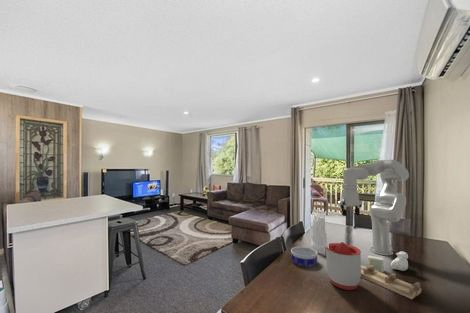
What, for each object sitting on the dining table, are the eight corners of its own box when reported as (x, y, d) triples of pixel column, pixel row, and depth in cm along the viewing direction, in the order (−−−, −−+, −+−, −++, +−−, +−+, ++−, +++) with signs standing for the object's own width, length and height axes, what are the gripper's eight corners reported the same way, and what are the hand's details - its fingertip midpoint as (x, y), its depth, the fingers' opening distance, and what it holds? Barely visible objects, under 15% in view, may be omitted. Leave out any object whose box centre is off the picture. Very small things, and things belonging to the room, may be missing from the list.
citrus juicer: (327, 271, 114) (326, 234, 116) (364, 282, 103) (363, 241, 105) (318, 283, 102) (317, 242, 103) (359, 297, 91) (357, 250, 92)
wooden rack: (355, 266, 121) (355, 258, 121) (421, 292, 95) (421, 282, 95) (345, 270, 116) (344, 262, 116) (411, 299, 90) (411, 288, 90)
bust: (394, 275, 114) (408, 264, 109) (382, 262, 120) (395, 251, 114) (407, 271, 119) (421, 260, 114) (395, 258, 125) (407, 247, 119)
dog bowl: (294, 254, 138) (294, 244, 139) (319, 259, 131) (319, 249, 131) (288, 263, 125) (287, 252, 126) (314, 269, 118) (314, 258, 118)
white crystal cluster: (325, 255, 137) (324, 216, 138) (309, 251, 143) (308, 214, 145) (329, 249, 145) (328, 213, 147) (313, 246, 152) (313, 211, 153)
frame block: (368, 266, 120) (367, 255, 120) (383, 269, 117) (382, 257, 117) (368, 269, 117) (368, 257, 118) (383, 272, 114) (383, 260, 114)
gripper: (356, 187, 138) (357, 213, 137) (334, 187, 134) (334, 214, 133) (366, 188, 131) (367, 216, 130) (343, 188, 127) (343, 217, 125)
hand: (350, 215), depth 131 cm, fingers open, 9 cm apart
